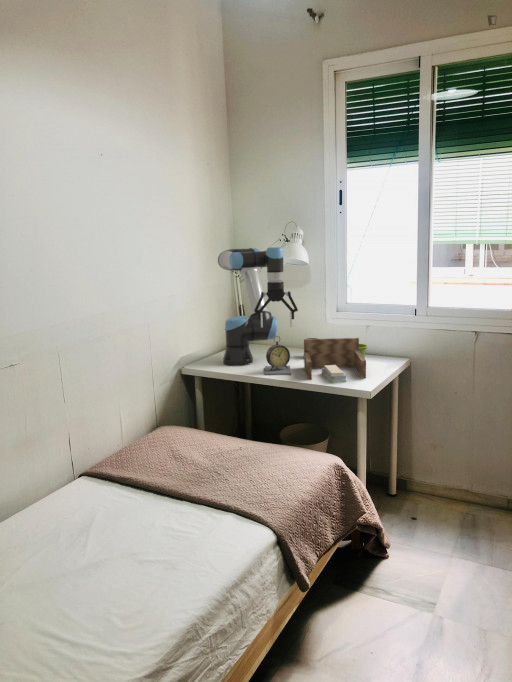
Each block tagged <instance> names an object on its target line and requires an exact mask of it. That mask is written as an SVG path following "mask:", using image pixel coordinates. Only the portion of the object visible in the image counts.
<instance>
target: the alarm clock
mask: <svg viewBox="0 0 512 682" xmlns="http://www.w3.org/2000/svg"><path fill="white" fill-rule="evenodd" d="M276 337H278V338H279V340H278V341H275V339H276ZM273 341H274V343H276V344H273V345H271V346H270V347H269V348H268V349H267V351H266V354H265V359H266V362H267V363H268V366H272V368H271V370H270V371H272V369H273V367H275V368H283V367H286V368H288V367H287V365H288V364H289V362H290V360H291V353H290V350H289V348H288V347H286V346H285V345H282V344H279V342H281V337H280V336H279V335H276V336H275V338H274V339H273Z"/></svg>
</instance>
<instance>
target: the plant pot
mask: <svg viewBox="0 0 512 682" xmlns="http://www.w3.org/2000/svg"><path fill="white" fill-rule="evenodd" d="M367 349H368V345H367V344H366V343H359V352H360V353H361V354H362V356H363V357H364V358H365V357H366V352H367V351H366V350H367ZM365 359H366V358H365Z"/></svg>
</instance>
